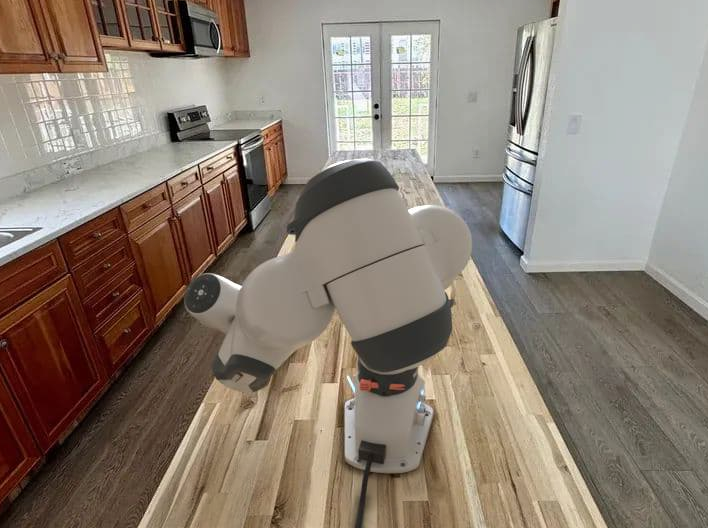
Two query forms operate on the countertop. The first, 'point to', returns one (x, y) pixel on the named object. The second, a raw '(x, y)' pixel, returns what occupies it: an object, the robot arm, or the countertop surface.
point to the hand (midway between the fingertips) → (262, 327)
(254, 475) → the countertop surface
